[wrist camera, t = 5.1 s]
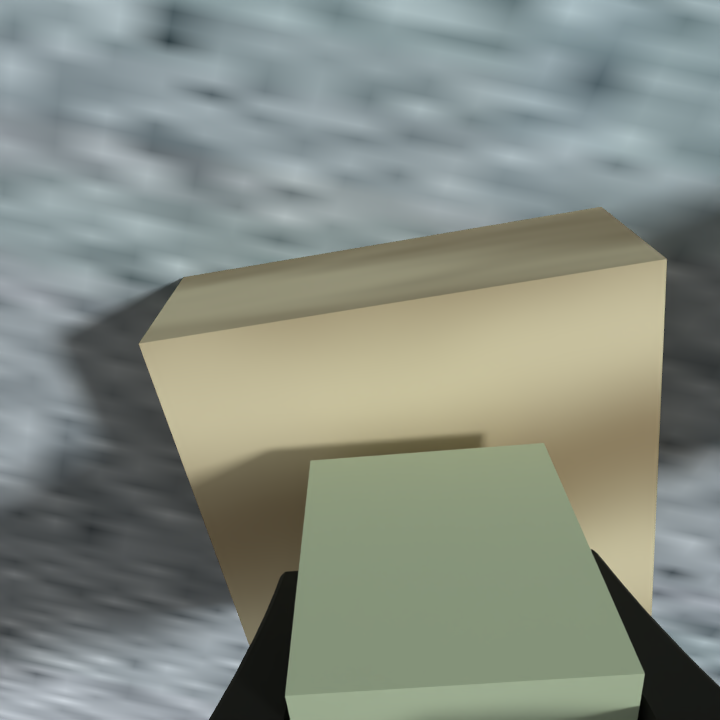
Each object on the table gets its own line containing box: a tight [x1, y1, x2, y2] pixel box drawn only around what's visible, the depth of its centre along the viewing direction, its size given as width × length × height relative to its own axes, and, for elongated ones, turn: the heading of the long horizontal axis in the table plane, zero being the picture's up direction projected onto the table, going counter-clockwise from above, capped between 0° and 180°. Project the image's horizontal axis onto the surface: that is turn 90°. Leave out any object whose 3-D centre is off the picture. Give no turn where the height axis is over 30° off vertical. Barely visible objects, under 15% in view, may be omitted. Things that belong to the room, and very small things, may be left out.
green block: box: [285, 443, 645, 720], centre depth 12 cm, size 4×4×5 cm
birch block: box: [139, 207, 667, 645], centre depth 16 cm, size 10×10×4 cm
